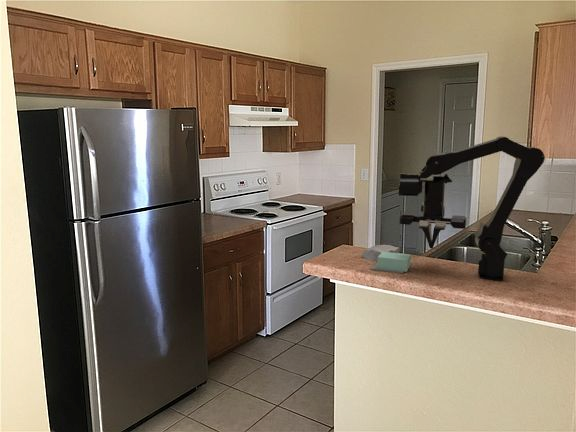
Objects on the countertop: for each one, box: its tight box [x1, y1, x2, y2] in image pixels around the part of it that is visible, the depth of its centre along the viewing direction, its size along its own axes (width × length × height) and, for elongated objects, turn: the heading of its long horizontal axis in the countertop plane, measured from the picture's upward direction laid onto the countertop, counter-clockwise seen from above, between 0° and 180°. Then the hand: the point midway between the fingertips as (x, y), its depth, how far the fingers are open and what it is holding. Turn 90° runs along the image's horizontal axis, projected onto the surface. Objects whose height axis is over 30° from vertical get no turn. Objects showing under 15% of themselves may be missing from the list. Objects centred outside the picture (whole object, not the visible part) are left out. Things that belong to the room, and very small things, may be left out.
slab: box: [376, 252, 412, 273], centre depth 149 cm, size 4×7×9 cm
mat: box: [370, 261, 405, 274], centre depth 150 cm, size 10×8×1 cm
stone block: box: [361, 244, 401, 262], centre depth 163 cm, size 12×5×10 cm
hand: (431, 248), depth 144 cm, fingers closed
